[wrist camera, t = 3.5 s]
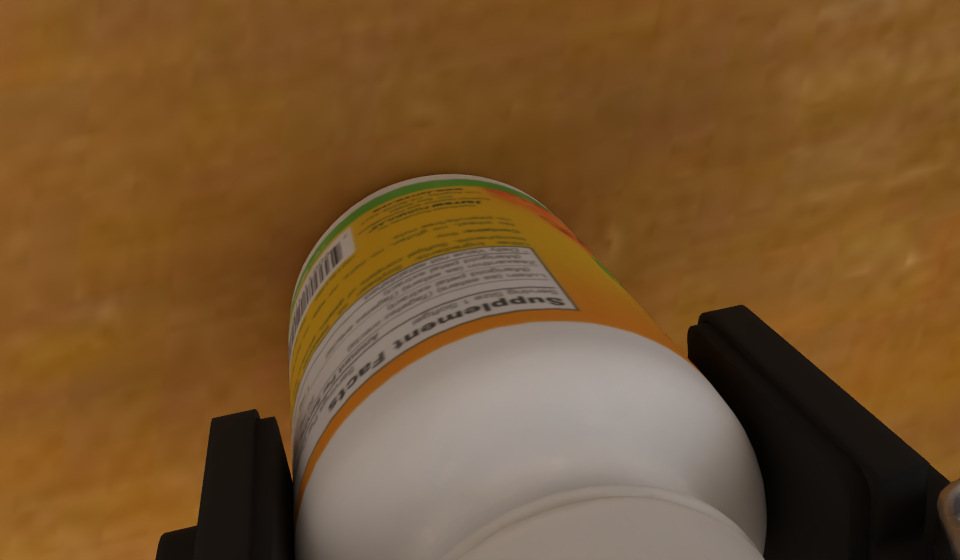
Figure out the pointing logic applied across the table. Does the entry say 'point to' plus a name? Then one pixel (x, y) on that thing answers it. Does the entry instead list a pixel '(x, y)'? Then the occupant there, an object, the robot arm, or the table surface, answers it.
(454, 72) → the table surface
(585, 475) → the supplement bottle
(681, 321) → the table surface
